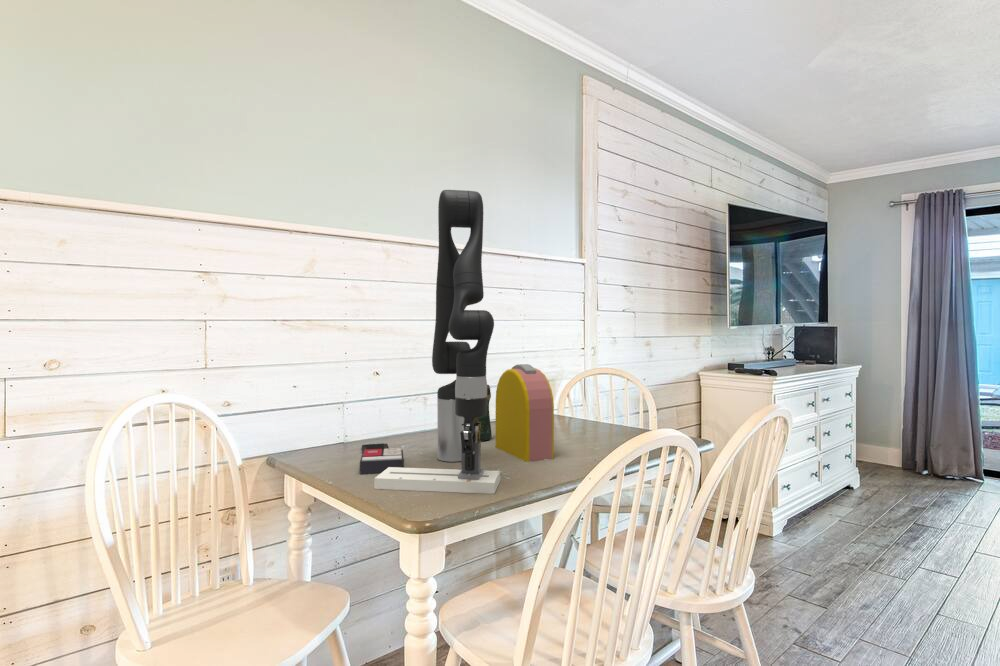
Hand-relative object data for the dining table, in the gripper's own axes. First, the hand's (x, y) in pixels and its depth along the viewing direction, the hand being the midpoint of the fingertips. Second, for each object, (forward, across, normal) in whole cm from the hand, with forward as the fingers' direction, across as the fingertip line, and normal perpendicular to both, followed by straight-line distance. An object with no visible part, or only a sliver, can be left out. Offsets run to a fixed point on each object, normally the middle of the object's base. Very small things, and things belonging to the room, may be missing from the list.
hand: (471, 467), depth 129 cm
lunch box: (+5, -36, +9) cm, 37 cm away
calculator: (+5, -15, -27) cm, 31 cm away
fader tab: (+2, 0, 0) cm, 2 cm away
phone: (+5, -31, -35) cm, 47 cm away
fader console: (+4, 0, -8) cm, 9 cm away
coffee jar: (+5, -52, -8) cm, 53 cm away
